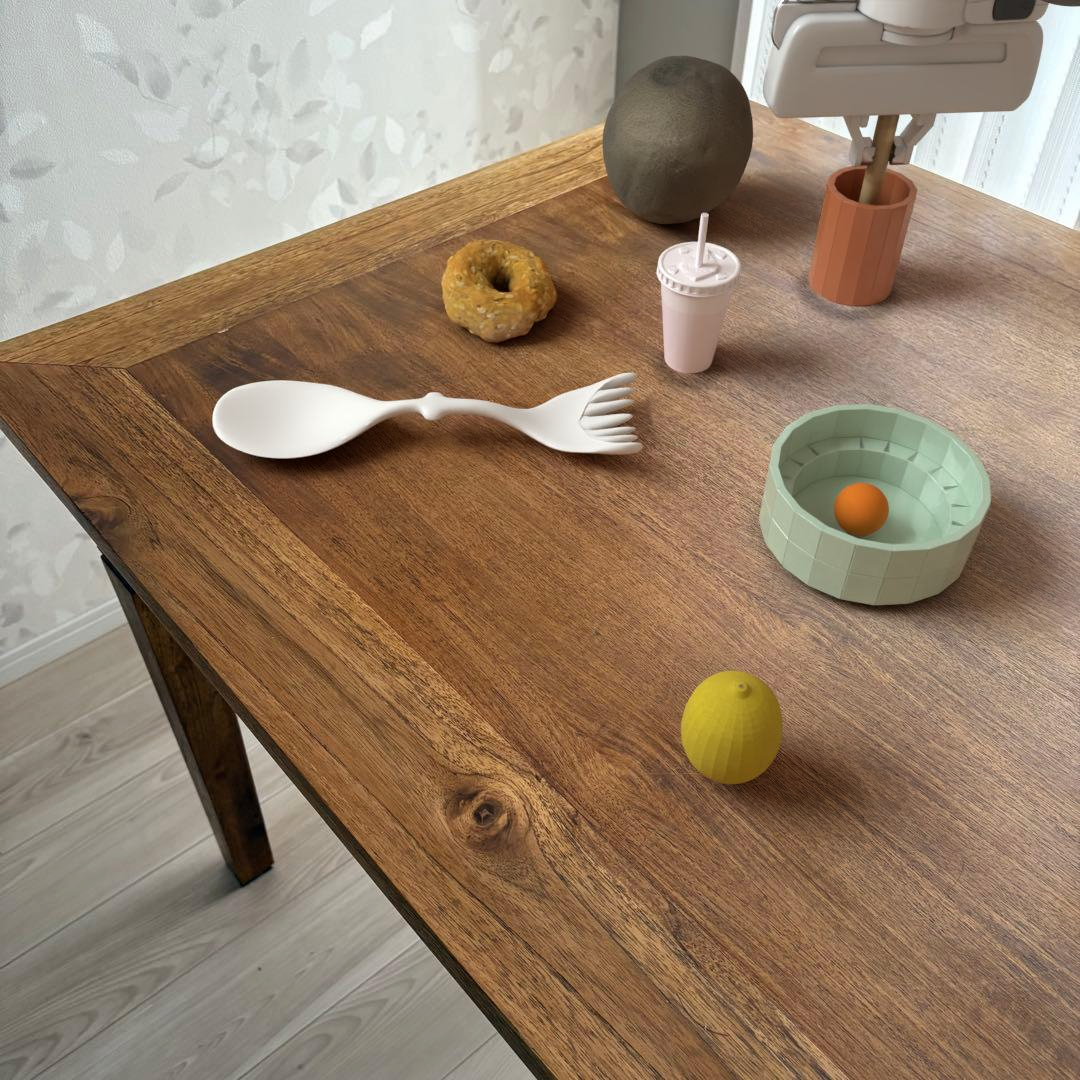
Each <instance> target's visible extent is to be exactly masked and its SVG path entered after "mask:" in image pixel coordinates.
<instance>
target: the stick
mask: <svg viewBox="0 0 1080 1080" xmlns="http://www.w3.org/2000/svg"><path fill="white" fill-rule="evenodd" d="M900 116H901V115H877V118H876V119H877V120H876V124H875V128H874V132H873V136H872V143H874V144H875V146H876V150H875V154H874V156H873V157H872V159H873V163H872V165H871V166H867V167H866V171H865V176H864V180H863V185H862V189H861V193H860V198H859V202H858V203H863V204H869V205H875V206H878V203H879V199H880V195H881V191H882V186H883V182H884V178H885V174H886V170H887V169H888V165H889V158H890V153H891V149H892V145H893V141H894V137H895V136H896V132H897V129H898V124H899V119H900Z"/></svg>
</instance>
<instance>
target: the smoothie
mask: <svg viewBox="0 0 1080 1080" xmlns="http://www.w3.org/2000/svg"><path fill="white" fill-rule="evenodd" d="M699 219H700V220H699V229H698V237H697V241H687V242H681V243H677V244H674V245H671V246H669V247H667V249H665V250H664V251H662V253H660V255H659V257H658V259H657V267H656V276H657V278H658V281H659V282H660V295H661V312H662V313H661V314H662V333H663V334H662V335H663V337H662V338H663V354H664V363H666V365H667V366H668V367H669V368H670V369H672V370H674V371H676V372H679V373H682V374H698V373H702V372H704V371H706V370H708V369H709V368H710V367H711V366H712V363H713V360H714V357H715V354H716V349H717V347H718V343H719V339H720V337H721V332H722V329H723V327H724V322H725V320H726V319H725V318H726V316H727V312H728V308H729V305H730V302H731V299H732V295H733V292H734V289H735V288H737V286H738V285H739V283H740V281H741V278H742V277H741V271H742V263H741V261H740V259H739V257H738V256H737V255H736V254H735V253H733V252H732V251H731V250H729V249H728V248H726V247H724V246H722V245H718V244H715V243H712V242H706V241H707V232H708V224H709V213H702V214H701V217H700V218H699Z"/></svg>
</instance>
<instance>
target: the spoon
mask: <svg viewBox="0 0 1080 1080" xmlns="http://www.w3.org/2000/svg"><path fill="white" fill-rule="evenodd" d="M638 378H639V375H638V374H637V373H635V372H622V373H619V374H616V375H614V376H610V377H608V378H605V379H603V380H600V381H598V382H595V383H593V384H590V385H586V386H584V387H580V388H577V389H573V390H569V391H566V392H564V393H561V394H559V395H557V396H555V397H553V398H551V399H549V400H548V401H547V400H546V402H543V403H542V404H540V405H538V406H535V407H530V408H518V407H511V406H508V405H504V404H500V403H497V402H494V401H493V402H492V401H488V400H482V399H475V398H454V397H449V396H445V395H443V394H442V393H441V392H438V391H432V392H431V391H430V392H428V393H426V395H425V396H423V397H419V398H412V399H399V400H379V399H375V398H372V397H369V396H366V395H363V394H360V393H357V392H355V391H352V390H349V389H346V388H344V387H340V386H336V385H332V384H325V383H319V382H318V383H317V382H309V381H300V380H299V381H298V380H285V379H284V380H275V379H274V380H265V381H256V382H251V383H247V384H243V385H239V386H236V387H234V388H232V389H230V390H228V391H227V392H226V393H224V394H223V395H222V396H221V397H220V398H219V399H218V401H217V402H216V403H215V406H214V409H213V411H212V412H213V413H212V420H211V421H212V428H213V431H214V433H215V434H216V436H217V437H218V438H219V439H220V440H221V441H222V442H223V443H225V444H226V445H228V447H231V448H233V449H235V450H237V451H241V452H242V453H245V454H249V455H252V456H256V457H261V458H269V459H280V460H281V459H284V460H285V459H286V460H287V459H300V458H307V457H311V456H316V455H320V454H323V453H326V452H329V451H331V450H334V449H336V448H339V447H341V446H342V445H345V444H346V443H348V442H350V441H352V440H353V439H355V438H357V437H359V436H360V435H362V434H363V433H365V432H366V431H367V430H368V431H369V429H371V428H373V427H374V426H376V425H377V424H379V423H382V422H383V421H386V420H388V419H391V418H394V417H398V416H401V415H410V414H417V415H421V416H423V418H424V420H426V421H428V422H436V421H439V420H441V418H443V417H447V416H476V417H477V416H478V417H484V418H488V419H491V420H495V421H498V422H500V423H503V424H505V425H507V426H510V427H511V428H514V429H515V430H518V431H519V432H521V433H523V434H524V435H526V436H528V437H530V438H531V439H533V440H534V441H536V442H537V443H539V444H541V445H543V446H545V447H547V448H549V449H552V450H554V451H558V452H562V453H563V452H564V453H571V454H572V453H573V454H600V455H631V454H635V453H638V452H640V451H641V450H643V447H644V446H643V444H642V443H641V442H635V441H637V440H638V439H639V436H638V435H635V434H631V433H634V431H635V430H636V429H637V428H636V427H635V426H619V425H622V424H625V423H627V422H629V421H630V420H631V419H632V418H633V417H634V415H632V413H631V414H630V413H616V414H613V413H614V412H618V411H620V410H623V409H625V408H627V407H629V406H630V405H632V404H634V402H635V400H633V399H629V398H628V399H627V398H626V399H622V398H625V397H627V396H629V395H631V394H633V393H634V392H635V391H636V389H635V388H634V387H629V386H628V387H624V386H627V385H630V384H632V383H633V384H634V383H635V382H636V381H637V380H638ZM611 413H612V414H611ZM617 426H618V427H617Z"/></svg>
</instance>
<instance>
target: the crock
mask: <svg viewBox="0 0 1080 1080" xmlns="http://www.w3.org/2000/svg"><path fill="white" fill-rule="evenodd" d="M866 167H867V166H855V167H853V166H852V165H850V166H846V167H843V168H840V169H839V168H838V169H837V170H835V171H834V172H833V173H831V174H830V175H829V176H828V180H827V183H826V186H825V192H824V196H823V200H822V201H823V202H822V206H821V207H822V208H821V213H820V216H819V220H818V221H819V222H818V227H817V231H816V236H815V241H814V246H813V251H812V256H811V260H810V261H811V262H810V266H809V270H808V277H807V280H808V285H809V286H810V288H811V290H812V291H813V292H814V293H815V294H817V295H818V296H819V297H821V298H822V299H824V300H826V301H828V302H831V303H833V304H838V305H841V306H847V307H848V306H849V307H868V306H873V305H877V304H880V303H881V302H882V301H885V300H886V299H887V298H888V297H889V296H890V294H891V293H892V289H893V285H894V282H895V278H896V275H897V271H898V267H899V263H900V259H901V256H902V252H903V248H904V244H905V241H906V237H907V233H908V228H909V225H910V222H911V217H912V214H913V211H914V207H915V203H916V200H917V194H918V188H917V187H916V185H915V183H914V181H913V180H911V178H909V177H907V176H906V175H905V174H903V173H901V172H898V171H895V170H893V169H891V168H887V170H886V174H885V178H884V182H883V186H882V191H881V195H880V199H879V203H878V206H875V205H869V204H863V203H858V202H859V198H860V193H861V189H862V185H863V180H864V176H865V171H866Z"/></svg>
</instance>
